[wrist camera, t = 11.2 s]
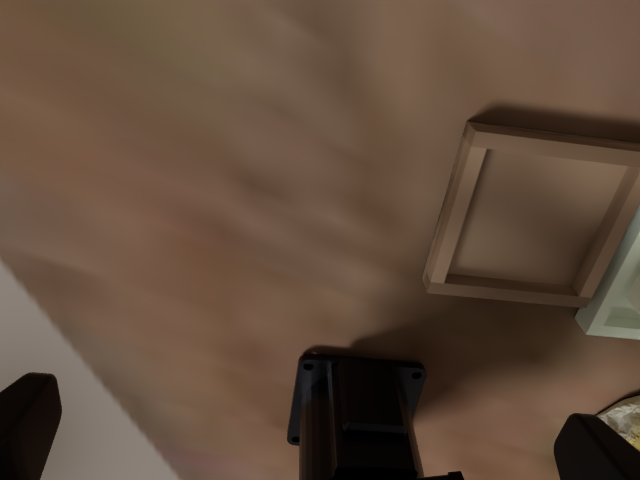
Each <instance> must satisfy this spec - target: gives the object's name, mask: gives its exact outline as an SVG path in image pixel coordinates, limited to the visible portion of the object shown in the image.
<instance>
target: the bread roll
mask: <svg viewBox="0 0 640 480" xmlns="http://www.w3.org/2000/svg"><path fill="white" fill-rule="evenodd" d="M597 417H599V418H600V419H602V420H603V421H604V422H605V423H606V424H608V425H609V426H610V427H611V428H612V429H614V430H615V431H616V432H617V433H618V434H620V435H621V436H622V437H623V438H624V439H626V440H627V441H628V442H629V443H630V444H632V445H633V446H634V447H635V448H636V449H638V450H639V451H640V395H639V396H635V397H631V398H628V399H624V400H622V401H620V402H618V403H616V404H614V405H613V406H611V407H610V408H608V409H607V410H605V411H604V412H602V413H600V414H598V415H597Z"/></svg>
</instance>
